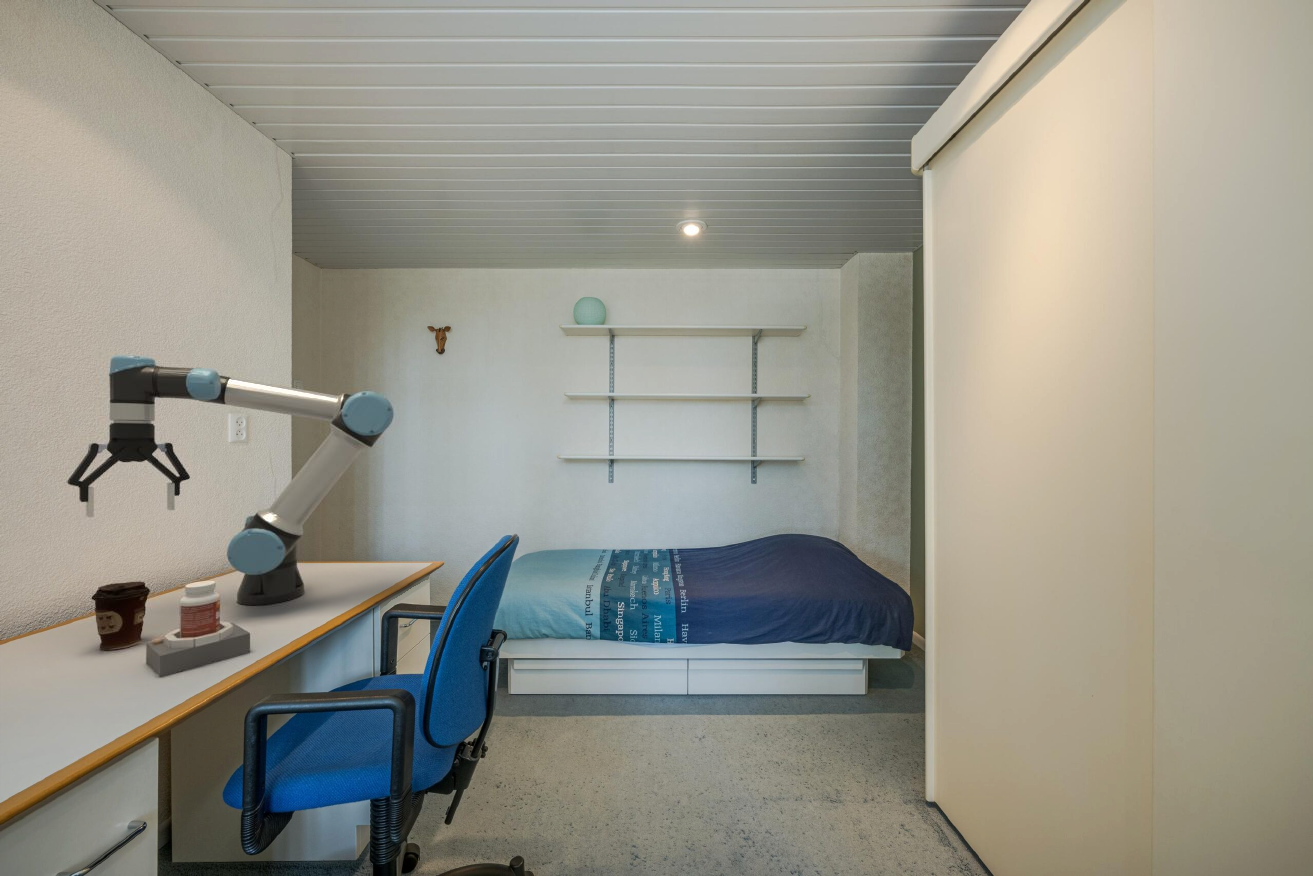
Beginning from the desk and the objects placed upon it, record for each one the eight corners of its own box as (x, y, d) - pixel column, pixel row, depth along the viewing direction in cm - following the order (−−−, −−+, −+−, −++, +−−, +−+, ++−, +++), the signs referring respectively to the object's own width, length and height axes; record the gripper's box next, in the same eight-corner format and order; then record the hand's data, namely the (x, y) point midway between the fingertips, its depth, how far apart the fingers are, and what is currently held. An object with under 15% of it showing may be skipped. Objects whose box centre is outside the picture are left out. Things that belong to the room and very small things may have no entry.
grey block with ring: (233, 641, 116) (233, 616, 116) (250, 652, 110) (250, 626, 110) (146, 663, 104) (146, 635, 104) (159, 677, 99) (160, 647, 99)
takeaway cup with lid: (110, 655, 108) (110, 592, 108) (79, 651, 109) (80, 589, 109) (158, 639, 116) (159, 580, 116) (129, 636, 118) (129, 578, 118)
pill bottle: (224, 636, 108) (224, 583, 108) (185, 646, 103) (185, 590, 103) (213, 629, 112) (214, 577, 111) (175, 639, 106) (176, 584, 106)
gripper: (196, 423, 135) (195, 505, 136) (49, 421, 115) (48, 517, 115) (205, 423, 131) (205, 508, 131) (54, 420, 111) (54, 521, 111)
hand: (132, 513), depth 123 cm, fingers open, 13 cm apart
